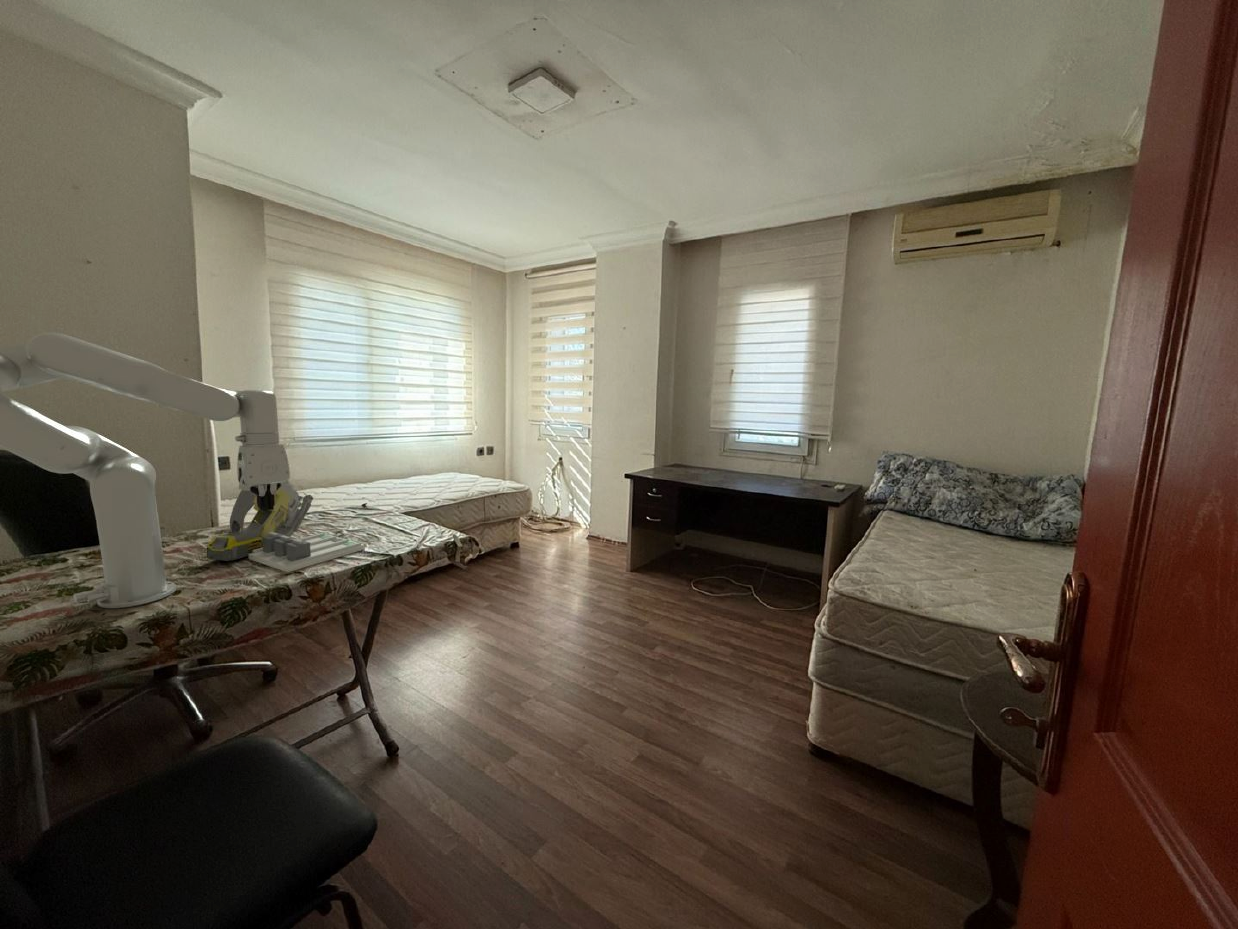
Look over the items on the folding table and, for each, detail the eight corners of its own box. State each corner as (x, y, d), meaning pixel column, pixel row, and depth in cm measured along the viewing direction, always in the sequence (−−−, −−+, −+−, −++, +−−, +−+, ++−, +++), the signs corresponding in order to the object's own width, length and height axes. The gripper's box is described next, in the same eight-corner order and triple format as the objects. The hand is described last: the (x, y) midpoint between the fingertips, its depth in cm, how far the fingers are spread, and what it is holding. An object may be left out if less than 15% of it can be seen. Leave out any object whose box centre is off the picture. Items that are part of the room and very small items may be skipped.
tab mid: (283, 558, 129) (281, 539, 129) (274, 555, 131) (273, 537, 130) (298, 554, 133) (297, 536, 132) (290, 551, 135) (288, 533, 134)
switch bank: (287, 572, 124) (286, 564, 123) (248, 558, 132) (248, 551, 132) (364, 549, 143) (364, 542, 143) (326, 538, 152) (326, 531, 151)
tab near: (295, 562, 127) (294, 543, 126) (287, 559, 129) (285, 541, 128) (310, 558, 130) (309, 539, 129) (302, 555, 132) (301, 537, 131)
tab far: (270, 554, 132) (269, 536, 131) (263, 551, 134) (261, 533, 133) (286, 550, 136) (284, 532, 135) (278, 547, 137) (277, 530, 137)
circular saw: (321, 503, 160) (274, 461, 140) (276, 587, 143) (215, 552, 123) (294, 502, 161) (243, 459, 141) (245, 585, 144) (180, 550, 124)
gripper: (233, 442, 110) (240, 518, 113) (301, 438, 123) (305, 506, 126) (217, 440, 113) (224, 513, 116) (284, 436, 126) (289, 502, 129)
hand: (266, 509), depth 121 cm, fingers closed
